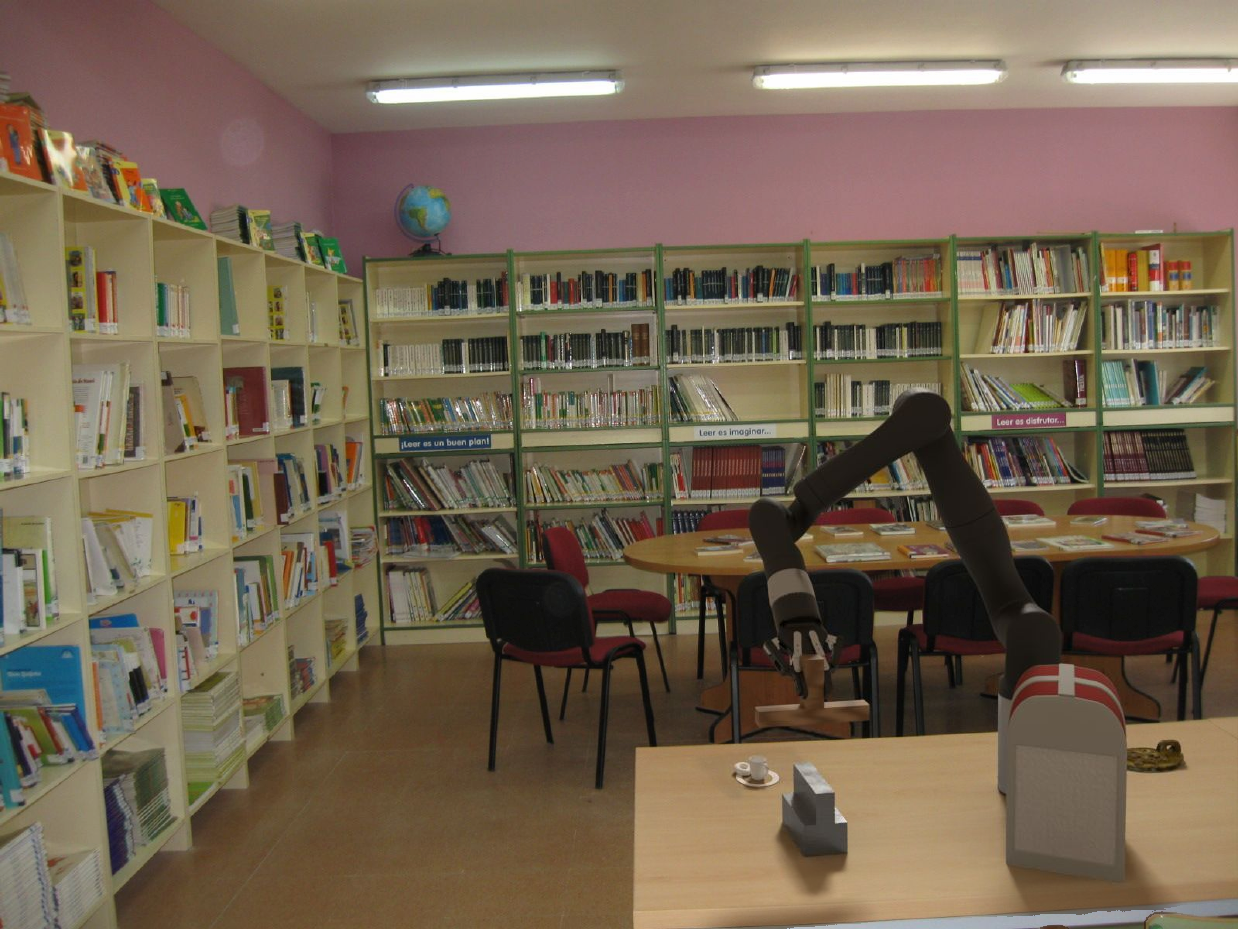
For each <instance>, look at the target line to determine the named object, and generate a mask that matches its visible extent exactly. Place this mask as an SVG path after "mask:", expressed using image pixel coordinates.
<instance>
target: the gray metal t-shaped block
mask: <svg viewBox="0 0 1238 929" xmlns="http://www.w3.org/2000/svg"><path fill="white" fill-rule="evenodd" d="M792 771H793V792H783V793H782V792H781V810H782V811H781V812H782V813H781V814H782V817H781V818H782V824H783V826H784V827H785V829H786V831H787V832H788V834H789V835H790V837H791V838H792V840H793V842H794V843H795V845H796V846H797V848H798V850H799V851H800V853H801V854H802V856H803V857H804V858H807V857H817V856H818V857H819V856H829V855H840V854H848V850H849V849H848V846H849V845H848V844H849V843H848V840H849V839H848V838H849V837H848V835H849V832H848V820H846V818H845V817H844V815H843V814H842V813H841V812H840V810H839V809H838V808H837V807H836V796H835V795H836V794H835V790H833V788H832V787H831V785H830V784H829V783H828V782H827V781H826V780H825V778H824V777H823V775H822V774H821V773H820V772H819V770H818V769H817V768H816V767H815V765H814V764H813V763H812V762H811V761H807V762H797V763H795V762H794V763H793V769H792Z"/></svg>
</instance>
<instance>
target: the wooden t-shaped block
mask: <svg viewBox="0 0 1238 929" xmlns="http://www.w3.org/2000/svg"><path fill="white" fill-rule="evenodd" d="M800 660H801V665H802V670H801V672H802V673H803V674H804V678H805V682H806V685H807V689H808V697H807V699H801V696H799V698H800V699H799V702H800V703H796V704H795V703H793V704H780V705H779V704H778V705H765V706H764V705H763V706H755V707H754V721H755V722H754V723H755V725H757V727H758V728H772V727H773V728H774V727H786V726H787V727H788V726H789V727H790V726H802V725H814V724H815V725H818V724H832V723H848V722H849V723H850V722H861V721H864V722H866V721H870V711H871V710H870V704H869V702H867V701H866V700H865V699H857V700H856V699H855V700H841V701H840V700H839V701H838V700H837V701H825V698H824V659H823V658H822V657H821V656H820V655H819V654H805V655H800Z"/></svg>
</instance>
